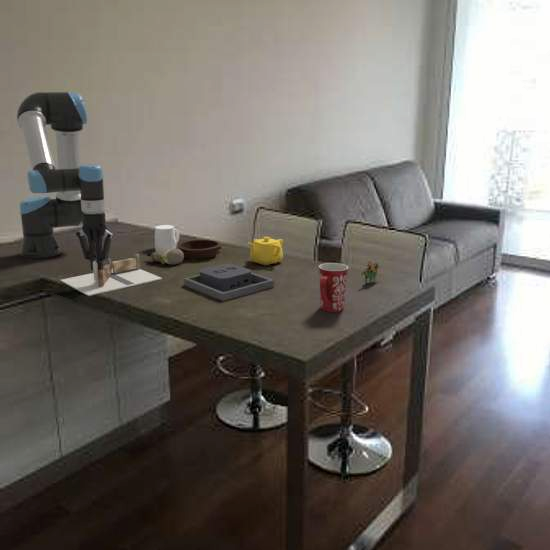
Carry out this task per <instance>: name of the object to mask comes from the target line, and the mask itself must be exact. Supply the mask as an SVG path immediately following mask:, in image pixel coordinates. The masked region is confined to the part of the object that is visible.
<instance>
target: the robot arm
mask: <svg viewBox="0 0 550 550" xmlns="http://www.w3.org/2000/svg"><path fill="white" fill-rule="evenodd" d="M16 119H17V124H18V127H19V129H21V130H22V133H23V137H24V141H25V146H26V150H27V154H28V158H29V162H30V163H29V164H30V166H31V170H29V171H28V172H27V183H28V188H29V191H30V192H31V193H33V194H48V193H49V194H50V193H51V194H52V193H55V198H52V199H51V197H50V195H36V196H32V197H27V198H25V199H23V200H22V201H21V202H20V203H19V210H20V211H19V215H20V219H21V228H22V235H23V236H22V242H21V247H20V250H19V251H20V256H21V258H23V259H30V260H32V259H33V260H34V259H35V260H38V259H47V258H48V259H49V258H52V257H55V256H58V255H60V254H61V247H60V246H59V242H58V240H57V239H56V236H55V233H54V232H55V231H54V229H55V228H66V227H69V228H70V227H79V226H82V227H81V229H80V230H78V231H76V232H75V235H76V236H77V238H78V240H79V244H80V246H81V251H82V253H83V258H84V259H85V260H88V261H89V262H90V270H91V271H93V273H94V281H98V273H97V271H98V270H103V268H104V264H103V262H104V261H107V259H108V258H109V253H110V247H111V242H112V238H113V237H114V233H113V232H110V231H109V230H108V229H107V226H106V222H107V221H106V213H105V210H106V206H105V205H106V204H105V192H104V174H103V167H102V166H101V165H99V164H81V148H80V147H81V145H80V133H81V132H82V131H83V129H84V127H83V126H84V125H86V124H88V115H87V109H86V106H85V102H84V99H83V97H82V95H81V94H80V93H78V92H71V91H70V92H69V91H61V92H60V91H57V92H56V91H55V92H53V91H49V92H46V91H45V92H42V91H39V92H38V91H37V92H35V93H31V94H30V95H28V96H27V97H25V98H24V99H23V101H21V103H20V104H19V107H18V109H17V113H16ZM46 125H50V129H51V130H52V131H53V132H54V133H55V142H56V157H57V158H56V159H57V168H56V165H55V164H56V163H55V162H54V157H53V153H52V149H51V145H50V142H49V138H48V134H47V131H46ZM103 237H104V239H103ZM103 240H104V241H103Z"/></svg>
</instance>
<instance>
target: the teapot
mask: <svg viewBox="0 0 550 550" xmlns="http://www.w3.org/2000/svg"><path fill="white" fill-rule="evenodd" d="M247 244H248V245H249V247H250V249H249V251H250V255H249V256H250V257H249V258H250V260H251V262H253V263H255V264H260V265H263V266H265V265H267V266H269V265H271V264H278V263H280V262H282V261H283V258H284V252H283V248H282V247H283V244H284V240H283V239H282V238H281V239H280V238H279V239H274V238H271V237H269V236H264V237H263V238H260V239H258V238H253V239H252V242H247ZM277 262H278V263H277Z"/></svg>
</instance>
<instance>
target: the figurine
mask: <svg viewBox="0 0 550 550" xmlns="http://www.w3.org/2000/svg"><path fill="white" fill-rule="evenodd" d="M369 263H370V264H369ZM366 267H367V268H364V271H361V273H360V276H361V275H362V276H364V280H365V284H369V285H372V284H371V282H372V281H373V282H374V281H376V277H377V275H379V272H378V269H380V266H379V263H378V262H374V263H373V264H372V262H371V261H367V265H366ZM368 278H369V282H368ZM371 280H372V281H371ZM367 282H368V283H367Z"/></svg>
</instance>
